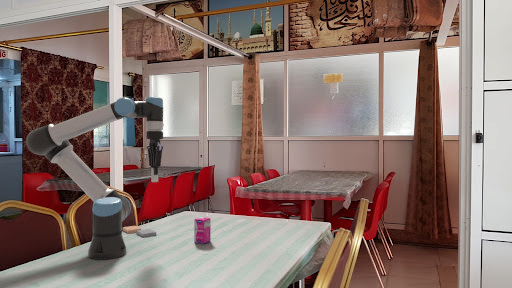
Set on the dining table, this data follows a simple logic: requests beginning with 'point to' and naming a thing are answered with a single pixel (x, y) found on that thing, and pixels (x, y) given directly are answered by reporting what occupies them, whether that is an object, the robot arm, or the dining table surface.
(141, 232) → the slate tile
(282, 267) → the dining table surface
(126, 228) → the terracotta tile
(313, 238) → the dining table surface
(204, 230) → the supplement box
